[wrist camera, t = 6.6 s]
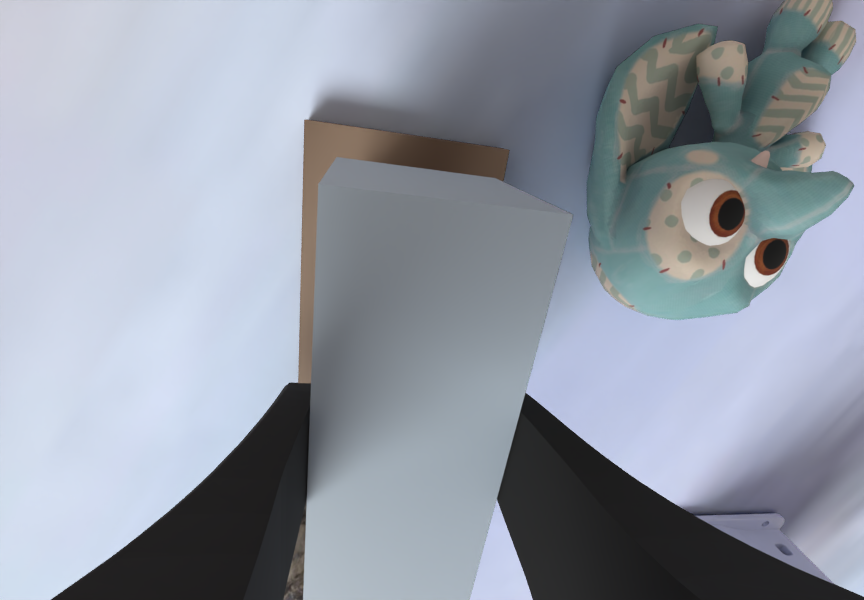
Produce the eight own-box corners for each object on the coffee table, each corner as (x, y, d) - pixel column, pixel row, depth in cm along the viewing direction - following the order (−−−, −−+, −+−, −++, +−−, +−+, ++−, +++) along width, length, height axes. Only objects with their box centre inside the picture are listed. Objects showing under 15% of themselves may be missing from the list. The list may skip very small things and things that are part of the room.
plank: (495, 178, 12) (573, 214, 8) (436, 486, 17) (462, 625, 12) (336, 157, 11) (317, 183, 7) (319, 488, 16) (301, 637, 11)
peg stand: (500, 148, 16) (542, 157, 12) (447, 425, 21) (465, 491, 17) (308, 119, 14) (289, 120, 11) (300, 423, 19) (285, 494, 16)
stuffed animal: (1078, 82, 12) (836, 421, 13) (810, 122, 19) (662, 344, 20) (923, -249, 9) (605, 249, 10) (660, -56, 15) (488, 226, 16)
